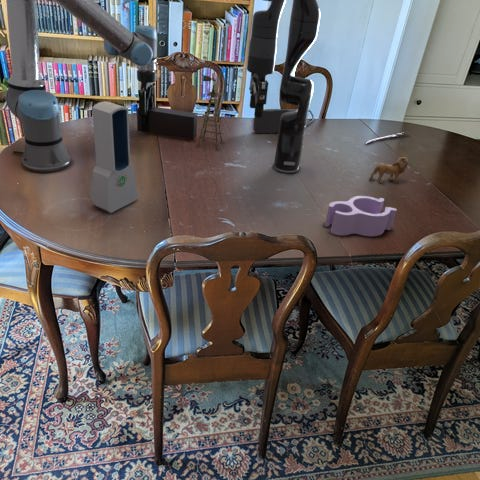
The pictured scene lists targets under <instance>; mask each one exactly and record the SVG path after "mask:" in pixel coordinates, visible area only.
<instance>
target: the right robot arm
mask: <svg viewBox="0 0 480 480" xmlns="http://www.w3.org/2000/svg"><path fill="white" fill-rule="evenodd" d="M263 1H265V2H270V5H269V7H268V8H267V9H264V10H256V11H255V12H254V13H253V15H252V21H251V31H250V38H249V39H250V40H249V44H248V51H247V52H248V54H247V63H246V70H247V72H249V73H250V80H249V88H248V89H249V93H250V94H249V95H250V97H249V108H250V109H254V118H255V117H256V118H261V117H262V114H263V109H264V106H265V105H267V100H268V99H267V98H268V90H269V81H268V80H266V79H267V77H266V76H268V75H272V74H273V73H274V72H275V64H276V58H277V48H278V33H279V25H280V20H281V17H282V15H283V14H282V13H283V11H284V9H285V5H286V3H287V0H263ZM291 6H292V7H291V11H290V19H289V26H288V35H287V47H286V55H285V60H284V64H283V65H284V66H283V70H282V75H281V81H280V85H279V94H278V95H279V101H280V102H281V103H283V104H286V105H287V104H288V105H291V106H297V109H298V110H296V111H293V112H286V113H283V114H282V115H281V118H280V125H279V133H277V140H276V147H275V154H274V161H273V162H274V163H273V164H272V165H273V166H272V168H273V170H275V171H277V172H279V173H281V174H282V173H283V174H295V173H297V172H299V168H300V164H301V163H300V162H301V157H302V150H303V145H304V138H305V132H306V128H308V126H310V125H311V124H312V123H313V121H314V119H315V116H314V114H313V112H312V111H311V109H310V107H311V103H312V98H313V93H314V82H313V81H312V79H309V78H304V77H300V76H295V72H296V69H297V66H298V64H299V62H300V61H301V59H302V58H303V56H304V55H305V54H306V53H307V51H308V50H310V48H311V47H312V45H313V44H314V43H315V41H316V40H317V37H318V32H319V27H320V20H321V10H320V7H319V4H318V1H317V0H292V5H291ZM309 113H310V114H311V120H310V121H309V122H308V123H307V121H308V115H309Z"/></svg>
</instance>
